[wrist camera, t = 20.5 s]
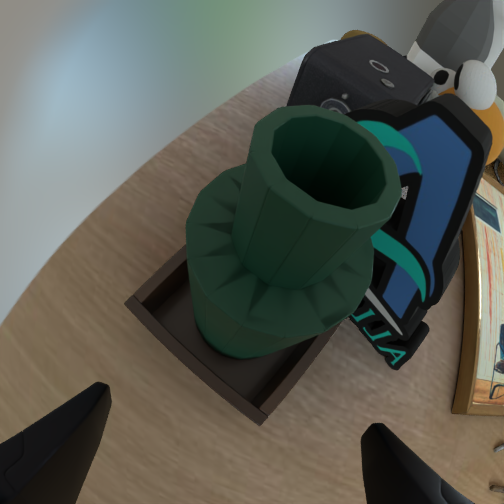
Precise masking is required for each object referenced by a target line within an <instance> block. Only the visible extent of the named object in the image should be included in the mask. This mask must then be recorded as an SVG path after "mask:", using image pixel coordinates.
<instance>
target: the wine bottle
mask: <svg viewBox="0 0 504 504" xmlns="http://www.w3.org/2000/svg"><path fill="white" fill-rule="evenodd" d="M493 35H494V12H493V0H444V1H443V2H441V3H440V4H439V5H438V6H437V7H436V8H435V9H434V10H433V11H432V12H431V13H430V15H429V16H428V18H427V20H426V22H425V24H424V26H423V28H422V30H421V31H420V33H419V35H418V37H417V39H416V40H415V43H414V44H413V46H412V48H411V50H410V51H409V53H408V55H407V59H408V60H409V61H411V62H412V63H413V64H415V65H416V66H418V67H419V68H420V69H422V70H423V71H424V72H426V73H427V74H428V75H430V74H431V73H432V72H433V71H434V70H436V69H439V68H448V69H451V70H453V71H455V72H457V69H458V68H459V67H460V66H461V65H462V64H463V63H464V62H466V61H469V60H477V61H481V62H482V63H484V62H485V61H486V59H487V58H488V55H489V52H490V49H491V46H492V42H493Z"/></svg>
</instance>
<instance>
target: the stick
mask: <svg viewBox="0 0 504 504" xmlns="http://www.w3.org/2000/svg"><path fill="white" fill-rule="evenodd" d="M490 490H491V491H497V492H502V493H504V487H501V486H495V485H492V486H491V487H490Z"/></svg>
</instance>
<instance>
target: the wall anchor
mask: <svg viewBox="0 0 504 504" xmlns="http://www.w3.org/2000/svg"><path fill="white" fill-rule="evenodd" d="M502 449H504V444H502V445H500V446H498V447H497V448H495V449H494V452H498V451H500V450H502Z"/></svg>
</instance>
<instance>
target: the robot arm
mask: <svg viewBox="0 0 504 504" xmlns="http://www.w3.org/2000/svg"><path fill="white" fill-rule="evenodd" d="M111 403H112V399H111V393H110V387H109V385H107V384H104V383H102V382H96V383H94V384H93V385H91V386H90V387H88V388H87V389H85V390H84V391H82V392H81V393H79V394H78V395H76V396H75V397H73V398H72V399H70V400H69V401H67V402H66V403H64V404H63V405H61V406H60V407H58V408H57V409H55V410H54V411H52V412H51V413H49V414H47V415H46V416H44V417H43V418H41V419H40V420H38V421H37V422H35V423H34V424H32V425H31V426H29V427H27V428H26V429H24V430H23V431H21V432H19V433H18V434H16V435H15V436H13V437H11V438H10V439H8V440H6V441H5V442H3V443H1V444H0V504H76V501H77V498H78V496H79V493H80V491H81V488H82V485H83V483H84V480H85V478H86V476H87V473H88V471H89V468H90V466H91V463H92V461H93V459H94V456H95V454H96V452H97V449H98V447H99V444H100V441H101V438H102V435H103V431H104V428H105V424H106V421H107V418H108V414H109V411H110V408H111ZM361 454H362V472H363V481H364V487H365V493H366V500H367V504H475V503H473V502H472V501H470V500H469V499H467V498H466V497H465V496H463V495H462V494H460V493H459V492H458V491H456V490H455V489H454V488H453V487H452V486H450V485H449V484H448V483H447V482H446V481H445V480H443V479H442V478H441V477H440V476H439V475H438V474H437V473H436V472H435V471H433V470H432V469H431V468H430V467H429V466H428V465H427V464H426V463H425V462H424V461H423V460H421V459H420V458H419V457H418V456H417V455H416V454H415V453H414V452H413V451H412V450H411V449H410V448H409V447H408V446H406V445H405V444H404V443H403V442H402V441H401V440H400V439H399V438H398V437H397V436H396V435H395V434H394V433H393V432H392V431H391V430H390V429H389V428H387V427H386V426H385V425H384V424H383V423H373V424H371V425H370V426H369V428H368V429H367V430H366V431H365V433H364V434H363V435H362V437H361Z"/></svg>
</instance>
